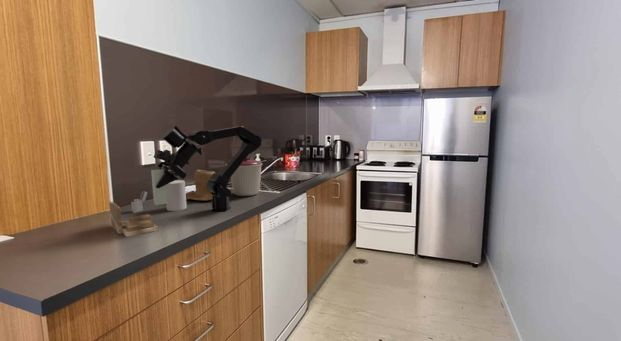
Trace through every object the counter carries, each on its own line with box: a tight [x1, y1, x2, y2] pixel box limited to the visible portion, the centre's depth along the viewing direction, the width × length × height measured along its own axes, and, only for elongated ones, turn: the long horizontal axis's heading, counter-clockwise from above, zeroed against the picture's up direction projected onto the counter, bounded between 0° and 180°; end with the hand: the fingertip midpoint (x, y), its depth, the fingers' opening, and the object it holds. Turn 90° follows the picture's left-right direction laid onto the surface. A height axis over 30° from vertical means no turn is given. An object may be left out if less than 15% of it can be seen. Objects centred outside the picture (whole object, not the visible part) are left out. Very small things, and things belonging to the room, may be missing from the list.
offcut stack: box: [124, 213, 155, 232], centre depth 109 cm, size 8×4×4 cm, turn 132°
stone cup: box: [186, 169, 216, 202], centre depth 157 cm, size 15×12×15 cm
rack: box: [108, 201, 159, 238], centre depth 112 cm, size 11×17×9 cm, turn 42°
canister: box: [230, 155, 263, 197], centre depth 168 cm, size 18×18×21 cm
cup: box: [165, 179, 187, 212], centre depth 140 cm, size 8×8×12 cm
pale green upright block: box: [150, 168, 167, 206], centre depth 120 cm, size 4×3×13 cm
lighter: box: [130, 191, 148, 214], centre depth 137 cm, size 7×2×8 cm, turn 158°
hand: (155, 187), depth 119 cm, fingers closed on pale green upright block, 3 cm apart
